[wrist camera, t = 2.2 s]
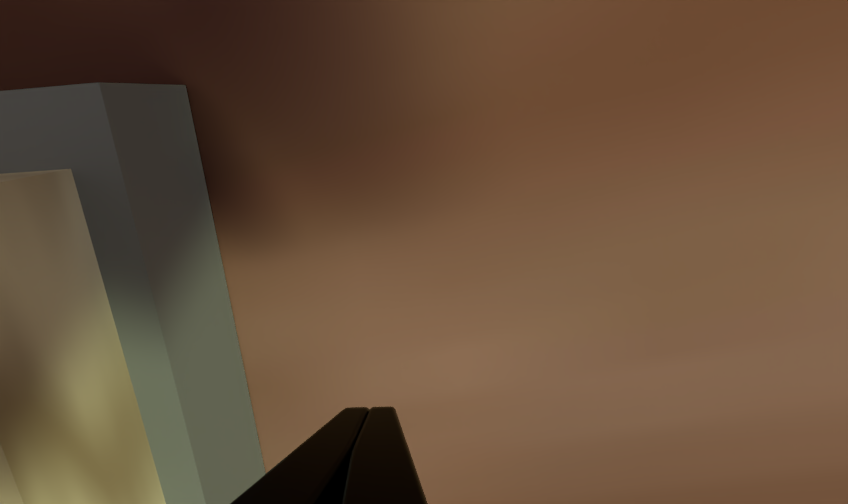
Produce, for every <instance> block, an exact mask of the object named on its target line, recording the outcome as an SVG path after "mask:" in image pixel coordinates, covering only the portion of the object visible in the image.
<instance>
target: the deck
mask: <svg viewBox="0 0 848 504" xmlns="http://www.w3.org/2000/svg"><path fill="white" fill-rule="evenodd" d="M61 169H71V170H72V174H73V178H74V181H75V185H76V188H77V192H78V195H79V199H80V202H81V206H82V209H83V213H84V216H85V220H86V223H87V227H88V230H89V234H90V238H91V241H92V245H93V248H94V252H95V255H96V259H97V262H98V266H99V269H100V273H101V276H102V280H103V283H104V287H105V290H106V294H107V297H108V301H109V305H110V308H111V312H112V315H113V319H114V322H115V326H116V329H117V333H118V336H119V340H120V343H121V347H122V350H123V354H124V357H125V361H126V365H127V368H128V372H129V375H130V379H131V382H132V386H133V389H134V393H135V396H136V400H137V403H138V407H139V410H140V414H141V417H142V421H143V425H144V428H145V432H146V435H147V439H148V442H149V446H150V449H151V453H152V456H153V460H154V463H155V467H156V470H157V474H158V477H159V481H160V484H161V488H162V492H163V495H164V499H165V502H166V504H230V503H231V502H232V501H234V500H235V499H236V498H237V497H239V496H240V495H241V494H242V493H243V492H245V491H246V490H247V489H248V488H249V487H251V486H252V485H253V484H254V483H255V482H257V481H258V480H259V479H260V478H261V477H263V476H264V475H265V474H266V473H265V468H264V464H263V459H262V454H261V449H260V444H259V439H258V434H257V430H256V425H255V420H254V415H253V410H252V405H251V400H250V396H249V391H248V386H247V381H246V376H245V371H244V366H243V362H242V357H241V352H240V347H239V342H238V337H237V332H236V328H235V323H234V318H233V313H232V308H231V303H230V298H229V294H228V289H227V284H226V279H225V274H224V269H223V264H222V259H221V255H220V250H219V245H218V240H217V235H216V230H215V225H214V221H213V216H212V211H211V206H210V201H209V196H208V191H207V187H206V182H205V177H204V172H203V167H202V162H201V157H200V153H199V148H198V143H197V138H196V133H195V128H194V123H193V119H192V114H191V109H190V104H189V99H188V94H187V89H186V85H169V84H136V83H103V82H97V83H86V84H74V85H63V86H51V87H40V88H29V89H17V90H6V91H0V174H4V173H18V172H32V171H47V170H61Z"/></svg>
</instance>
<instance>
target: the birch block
mask: <svg viewBox="0 0 848 504" xmlns="http://www.w3.org/2000/svg"><path fill="white" fill-rule="evenodd" d="M0 504H166V502H165V499H164V495H163V492H162V488H161V484H160V481H159V477H158V474H157V470H156V467H155V463H154V460H153V456H152V453H151V449H150V446H149V442H148V439H147V435H146V432H145V428H144V425H143V421H142V417H141V414H140V410H139V407H138V403H137V400H136V396H135V393H134V389H133V386H132V382H131V379H130V375H129V372H128V368H127V365H126V361H125V357H124V354H123V350H122V347H121V343H120V340H119V336H118V333H117V329H116V326H115V322H114V319H113V315H112V312H111V308H110V305H109V301H108V297H107V294H106V290H105V287H104V283H103V280H102V276H101V273H100V269H99V266H98V262H97V259H96V255H95V252H94V248H93V245H92V241H91V238H90V234H89V230H88V227H87V223H86V220H85V216H84V213H83V209H82V206H81V202H80V199H79V195H78V192H77V188H76V185H75V181H74V178H73V174H72V170H71V169H61V170H47V171H32V172H18V173H4V174H0Z"/></svg>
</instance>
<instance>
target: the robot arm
mask: <svg viewBox="0 0 848 504" xmlns="http://www.w3.org/2000/svg"><path fill="white" fill-rule="evenodd" d="M230 504H428V503H427V501H426V498H425V495H424V492H423V489H422V486H421V483H420V480H419V477H418V474H417V471H416V469H415V466H414V463H413V460H412V457H411V454H410V451H409V448H408V445H407V442H406V440H405V437H404V434H403V431H402V428H401V425H400V422H399V419H398V416H397V413H396V410H395V409H394V408H393V407H373V408H371V409H370V410H369V409H368V408H367V407H354V408H345V409H344V410H342V411H341V412H340V413H339V414H338V415H336V416H335V417H334V418H333V419H331V420H330V421H329V422H328V423H327V424H325V425H324V426H323V427H322V428H321V429H319V430H318V431H317V432H316V433H315V434H313V435H312V436H311V437H310V438H309V439H307V440H306V441H305V442H304V443H302V444H301V445H300V446H299V447H298V448H296V449H295V450H294V451H293V452H292V453H290V454H289V455H288V456H287V457H286V458H284V459H283V460H282V461H281V462H280V463H278V464H277V465H276V466H275V467H274V468H272V469H271V470H270V471H269V472H267V473H266V474H265V475H264V476H263V477H261V478H260V479H259V480H258V481H257V482H255V483H254V484H253V485H252V486H251V487H249V488H248V489H247V490H246V491H245V492H243V493H242V494H241V495H240V496H239V497H237V498H236V499H235V500H234V501H232V502H231V503H230Z"/></svg>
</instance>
